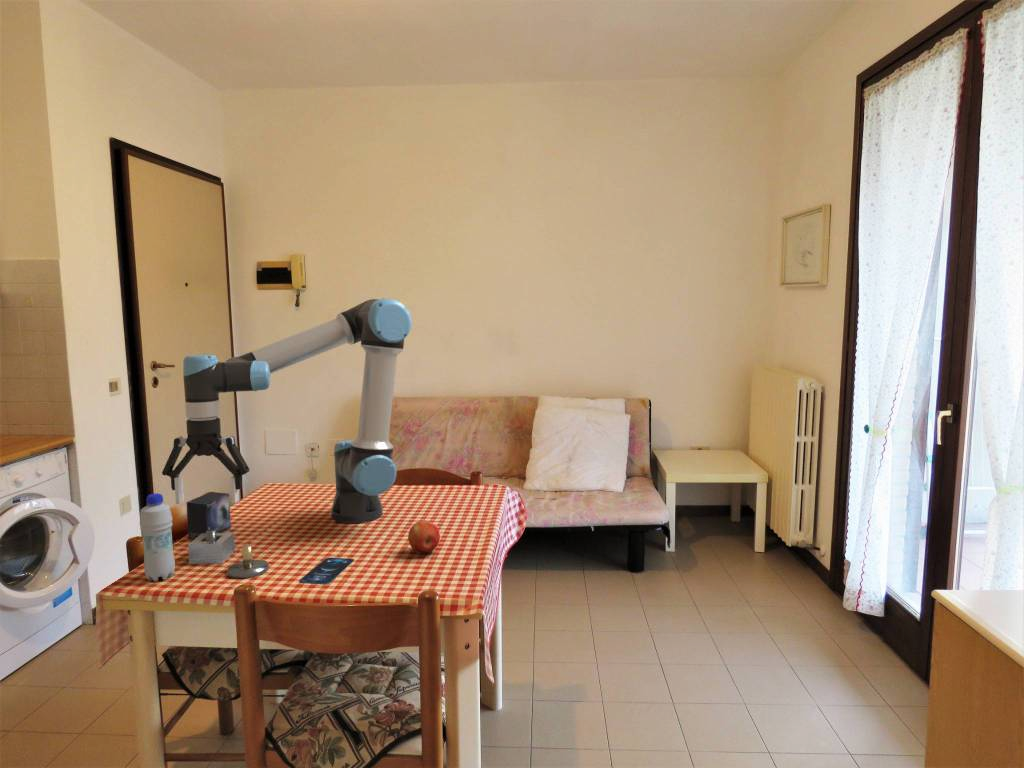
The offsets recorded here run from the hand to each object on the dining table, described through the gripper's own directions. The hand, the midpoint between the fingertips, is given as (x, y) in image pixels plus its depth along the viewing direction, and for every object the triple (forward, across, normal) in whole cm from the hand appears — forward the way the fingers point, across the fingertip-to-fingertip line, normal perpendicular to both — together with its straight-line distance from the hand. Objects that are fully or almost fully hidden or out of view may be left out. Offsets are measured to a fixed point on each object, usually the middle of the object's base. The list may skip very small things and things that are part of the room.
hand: (207, 502), depth 162 cm
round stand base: (+14, -12, +9) cm, 21 cm away
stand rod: (+14, 0, 0) cm, 14 cm away
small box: (+15, +8, -18) cm, 25 cm away
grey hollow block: (+14, 0, 0) cm, 14 cm away
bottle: (+15, +7, +11) cm, 20 cm away
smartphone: (+15, -31, +10) cm, 36 cm away
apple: (+14, -53, 0) cm, 55 cm away
